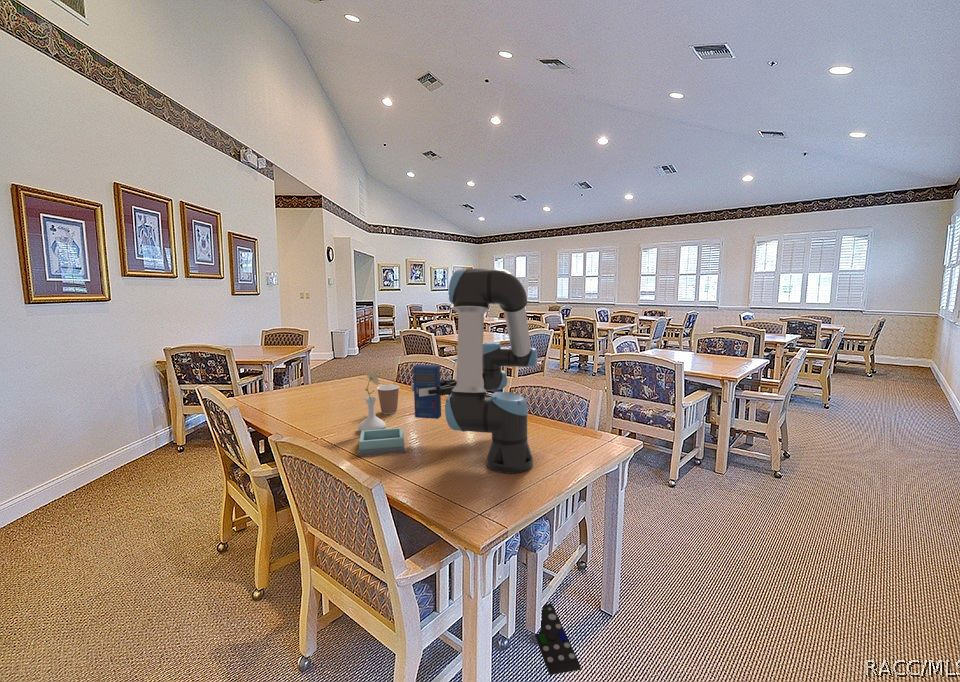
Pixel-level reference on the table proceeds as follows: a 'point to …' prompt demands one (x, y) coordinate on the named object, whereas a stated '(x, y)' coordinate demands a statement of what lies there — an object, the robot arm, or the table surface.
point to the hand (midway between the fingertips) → (415, 390)
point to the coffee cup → (388, 398)
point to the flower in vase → (371, 408)
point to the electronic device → (426, 379)
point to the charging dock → (381, 442)
